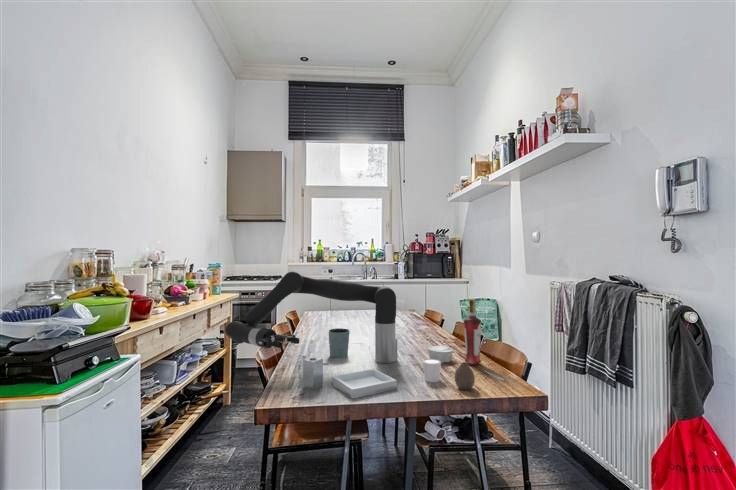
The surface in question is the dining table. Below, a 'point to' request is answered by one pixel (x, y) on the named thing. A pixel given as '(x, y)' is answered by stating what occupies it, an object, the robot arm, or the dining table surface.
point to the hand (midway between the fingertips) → (290, 343)
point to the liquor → (472, 335)
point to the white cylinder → (432, 370)
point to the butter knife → (495, 376)
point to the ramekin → (440, 353)
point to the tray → (363, 383)
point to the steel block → (312, 373)
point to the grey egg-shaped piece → (464, 377)
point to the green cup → (338, 342)
